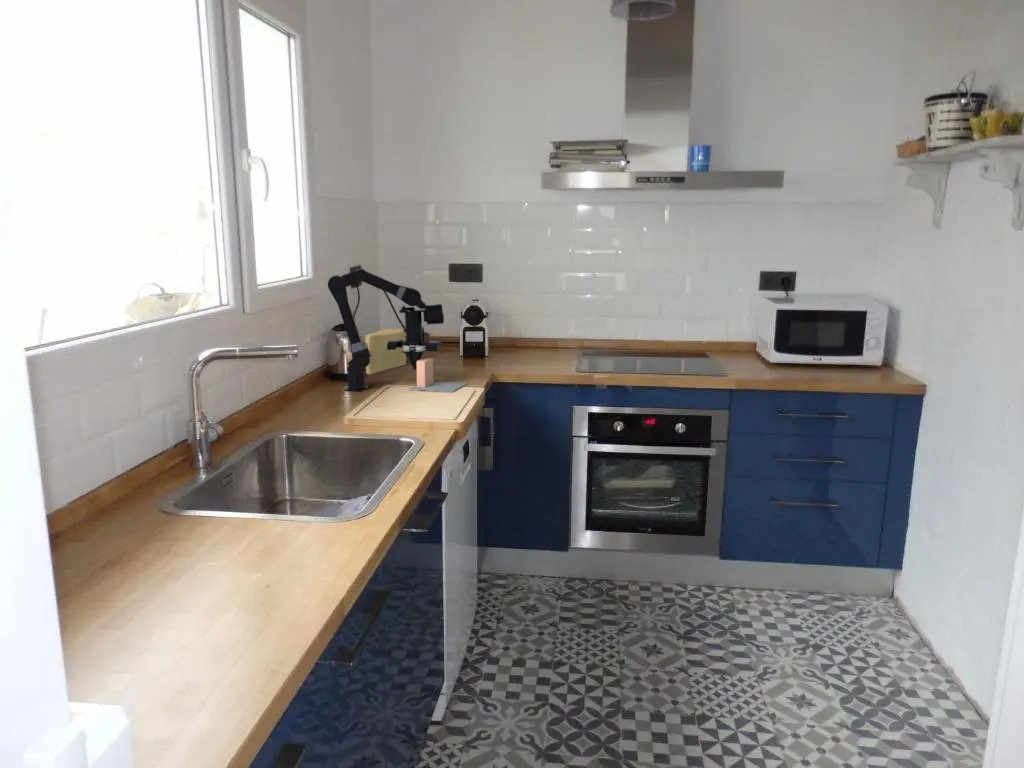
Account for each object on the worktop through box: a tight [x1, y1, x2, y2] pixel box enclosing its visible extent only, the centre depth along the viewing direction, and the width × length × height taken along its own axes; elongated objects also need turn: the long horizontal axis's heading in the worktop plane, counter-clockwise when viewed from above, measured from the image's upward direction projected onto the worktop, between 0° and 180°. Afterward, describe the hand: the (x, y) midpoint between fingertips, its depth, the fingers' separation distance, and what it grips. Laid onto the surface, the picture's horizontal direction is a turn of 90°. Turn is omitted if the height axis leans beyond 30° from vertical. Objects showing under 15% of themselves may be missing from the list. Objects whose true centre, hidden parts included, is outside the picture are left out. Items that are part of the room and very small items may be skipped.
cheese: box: [364, 328, 407, 375], centre depth 293 cm, size 22×10×15 cm, turn 159°
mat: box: [408, 380, 468, 393], centre depth 260 cm, size 14×16×1 cm
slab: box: [416, 357, 434, 388], centre depth 261 cm, size 7×3×9 cm, turn 162°
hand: (415, 369), depth 262 cm, fingers closed
